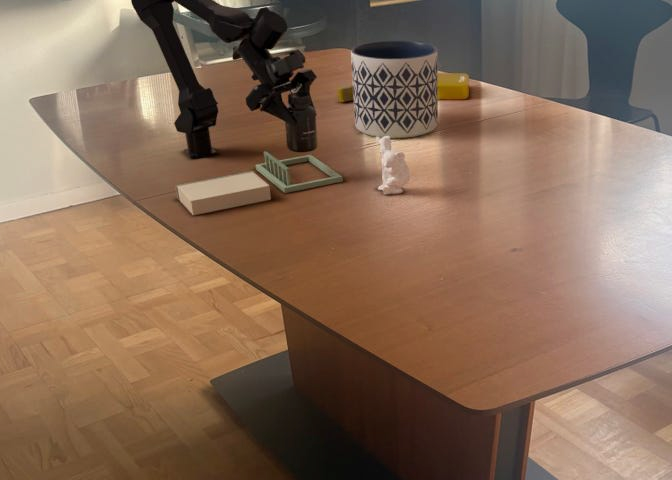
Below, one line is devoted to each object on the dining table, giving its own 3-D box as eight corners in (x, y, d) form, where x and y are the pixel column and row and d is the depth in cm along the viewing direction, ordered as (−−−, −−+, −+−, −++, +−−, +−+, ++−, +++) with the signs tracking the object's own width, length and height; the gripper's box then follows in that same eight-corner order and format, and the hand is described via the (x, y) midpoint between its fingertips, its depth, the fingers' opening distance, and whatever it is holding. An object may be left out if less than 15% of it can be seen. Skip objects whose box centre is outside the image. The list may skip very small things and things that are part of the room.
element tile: (468, 99, 248) (468, 83, 246) (418, 99, 248) (418, 83, 246) (468, 87, 261) (468, 71, 259) (420, 87, 261) (420, 71, 259)
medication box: (368, 95, 253) (367, 81, 252) (374, 95, 252) (373, 82, 250) (337, 101, 246) (336, 87, 244) (343, 102, 244) (341, 88, 242)
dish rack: (255, 169, 196) (253, 150, 194) (310, 159, 202) (309, 140, 200) (284, 193, 183) (282, 173, 181) (342, 181, 189) (341, 161, 187)
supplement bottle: (311, 154, 185) (307, 100, 179) (282, 152, 186) (277, 98, 180) (322, 144, 191) (318, 92, 184) (294, 142, 192) (289, 90, 186)
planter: (340, 133, 220) (334, 54, 209) (377, 111, 238) (374, 37, 227) (417, 143, 213) (416, 62, 202) (450, 120, 230) (450, 44, 220)
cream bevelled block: (177, 199, 180) (174, 185, 178) (254, 184, 188) (252, 170, 186) (192, 215, 172) (189, 201, 170) (271, 199, 180) (270, 185, 178)
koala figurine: (368, 189, 185) (365, 136, 179) (393, 183, 188) (391, 130, 182) (390, 200, 179) (388, 146, 173) (415, 193, 183) (414, 140, 176)
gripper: (249, 47, 171) (296, 108, 172) (306, 31, 185) (349, 88, 186) (225, 80, 179) (271, 139, 180) (282, 63, 192) (323, 118, 193)
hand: (305, 120), depth 184 cm, fingers closed on supplement bottle, 7 cm apart
